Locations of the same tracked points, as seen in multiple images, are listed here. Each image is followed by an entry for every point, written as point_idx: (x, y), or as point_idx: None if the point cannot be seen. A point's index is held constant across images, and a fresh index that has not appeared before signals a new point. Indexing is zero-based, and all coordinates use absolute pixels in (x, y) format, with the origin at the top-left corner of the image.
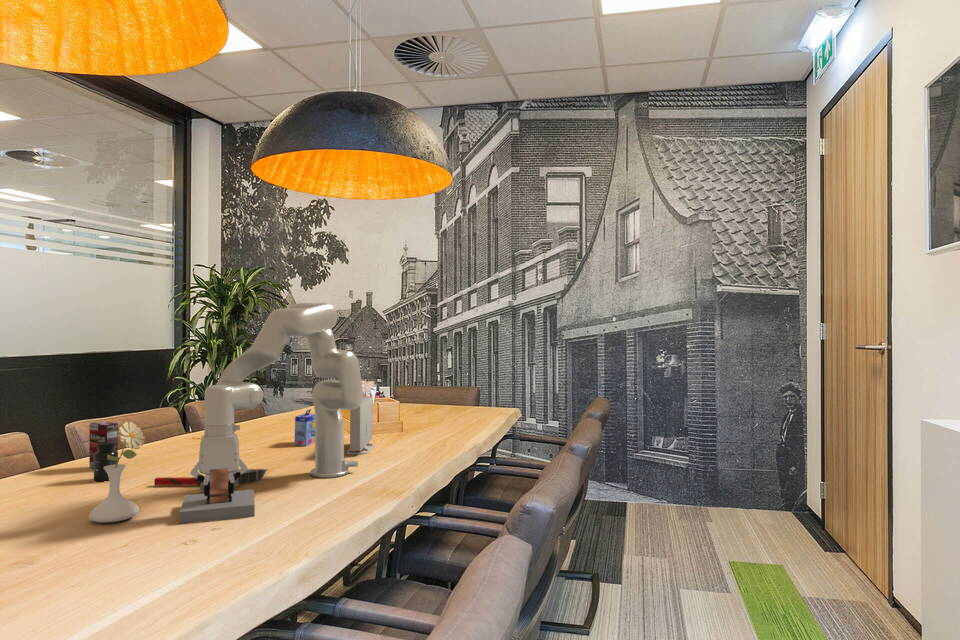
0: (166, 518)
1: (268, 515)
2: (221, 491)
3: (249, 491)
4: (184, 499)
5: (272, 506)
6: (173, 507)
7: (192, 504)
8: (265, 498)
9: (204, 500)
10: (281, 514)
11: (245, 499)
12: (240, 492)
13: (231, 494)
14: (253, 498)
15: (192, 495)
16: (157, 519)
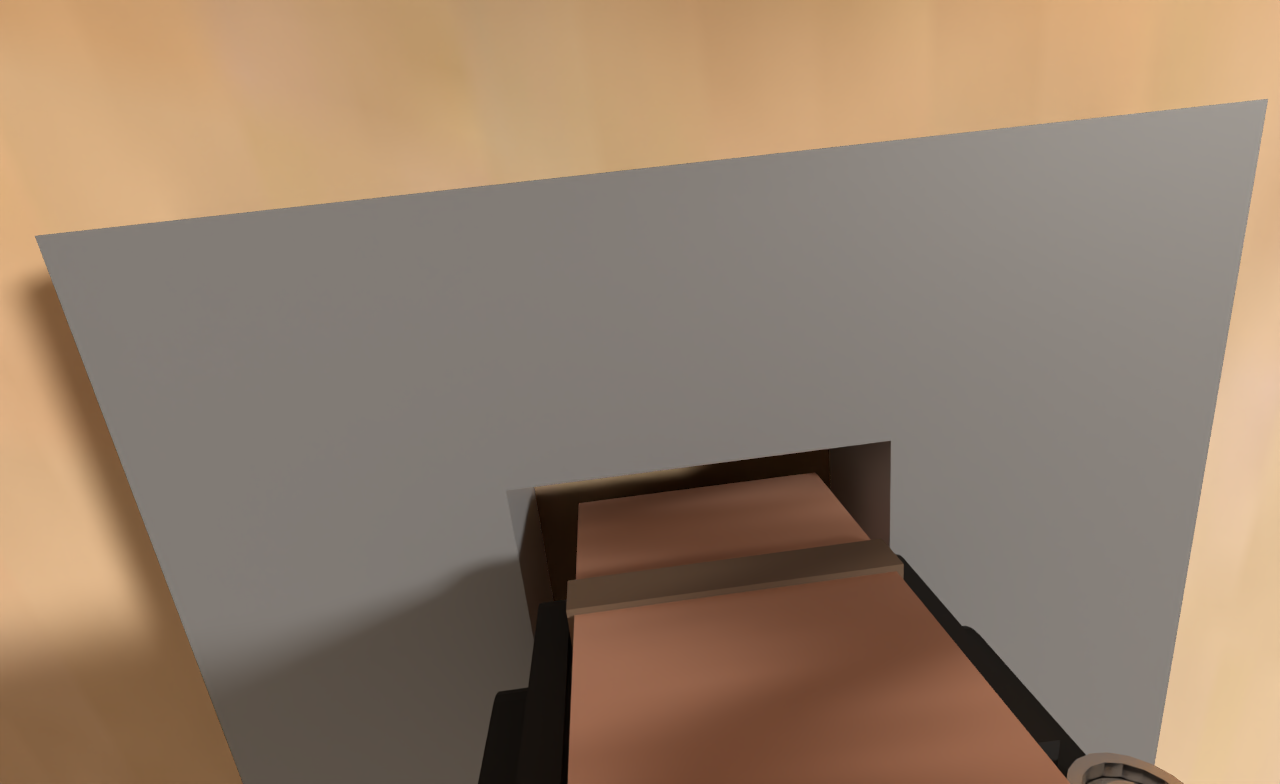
0: (154, 695)
1: (1165, 753)
2: None
3: (1175, 237)
4: (152, 513)
5: (1265, 481)
6: (14, 253)
7: (385, 768)
8: (1271, 81)
9: (505, 617)
10: (1277, 744)
11: (1063, 664)
12: (1027, 272)
13: (880, 365)
14: (1166, 637)
15: (194, 280)
16: (63, 712)
